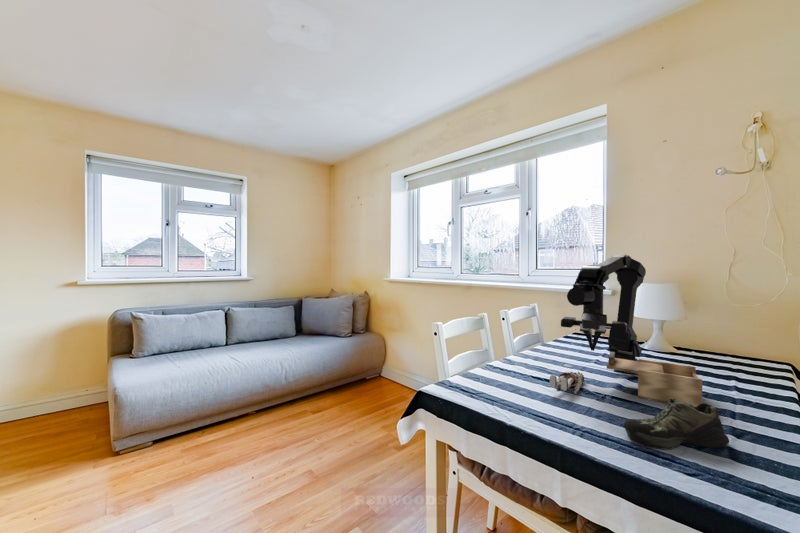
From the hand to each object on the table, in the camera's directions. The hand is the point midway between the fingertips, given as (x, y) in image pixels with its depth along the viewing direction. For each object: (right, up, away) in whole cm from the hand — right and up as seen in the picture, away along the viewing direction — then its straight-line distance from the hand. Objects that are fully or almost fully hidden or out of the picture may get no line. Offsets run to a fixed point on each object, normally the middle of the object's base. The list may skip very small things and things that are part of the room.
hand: (592, 350), depth 110 cm
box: (+16, -11, -11) cm, 22 cm away
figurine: (-11, -11, -6) cm, 17 cm away
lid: (+9, -4, -7) cm, 12 cm away
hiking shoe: (-3, -11, -36) cm, 38 cm away
